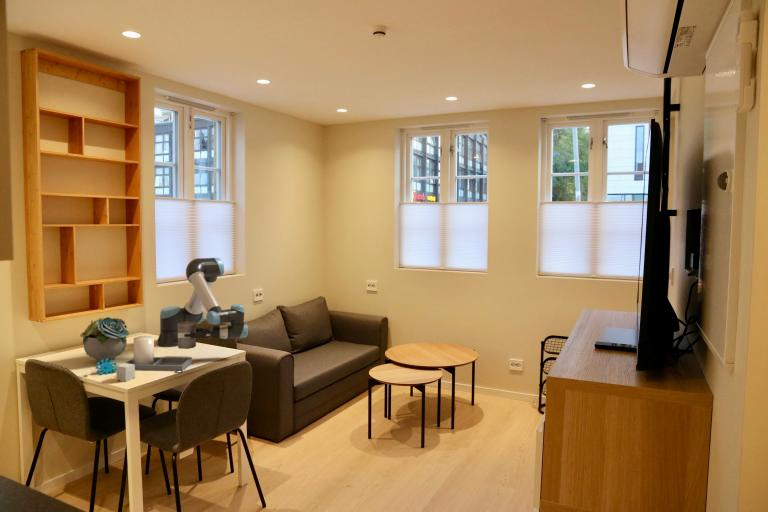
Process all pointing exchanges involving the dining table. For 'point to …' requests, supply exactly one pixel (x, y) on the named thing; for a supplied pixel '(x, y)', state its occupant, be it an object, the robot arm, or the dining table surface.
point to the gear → (106, 367)
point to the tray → (165, 364)
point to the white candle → (144, 350)
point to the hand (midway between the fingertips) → (178, 333)
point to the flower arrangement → (105, 339)
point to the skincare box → (125, 372)
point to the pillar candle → (184, 328)
